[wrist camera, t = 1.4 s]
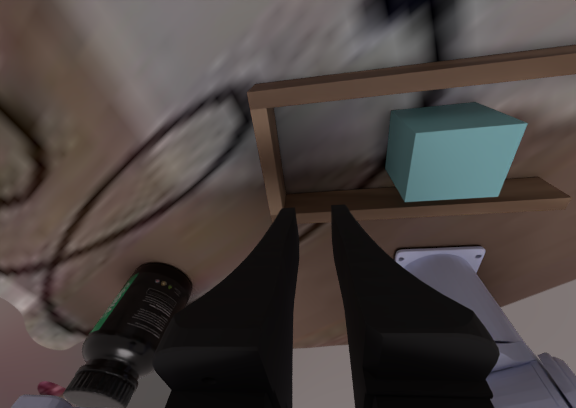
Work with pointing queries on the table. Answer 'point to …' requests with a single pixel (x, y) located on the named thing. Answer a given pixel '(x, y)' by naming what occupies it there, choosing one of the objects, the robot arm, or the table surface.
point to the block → (451, 151)
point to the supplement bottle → (128, 337)
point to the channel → (394, 81)
